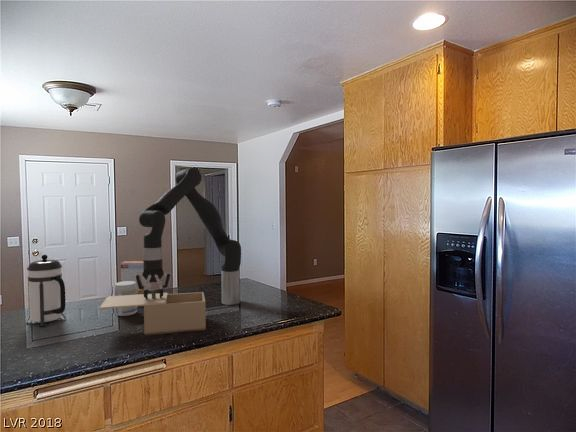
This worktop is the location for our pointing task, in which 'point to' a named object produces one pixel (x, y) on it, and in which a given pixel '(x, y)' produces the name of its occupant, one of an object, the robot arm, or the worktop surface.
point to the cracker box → (133, 273)
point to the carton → (176, 314)
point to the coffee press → (45, 291)
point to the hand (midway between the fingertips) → (153, 297)
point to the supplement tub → (125, 289)
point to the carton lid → (134, 300)
